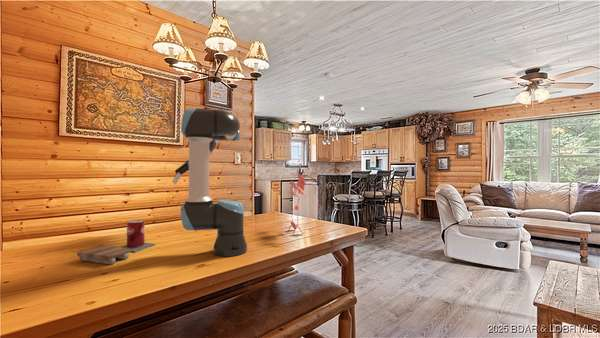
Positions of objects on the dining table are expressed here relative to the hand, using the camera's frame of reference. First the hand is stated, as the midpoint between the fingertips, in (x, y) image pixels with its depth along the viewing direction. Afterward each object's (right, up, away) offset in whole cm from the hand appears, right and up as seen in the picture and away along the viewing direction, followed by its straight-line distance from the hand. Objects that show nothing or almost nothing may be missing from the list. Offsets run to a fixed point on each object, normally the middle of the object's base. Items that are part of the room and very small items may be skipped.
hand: (184, 183), depth 146 cm
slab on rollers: (-19, -30, -34) cm, 49 cm away
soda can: (-16, -29, -17) cm, 37 cm away
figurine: (+63, -30, +16) cm, 72 cm away
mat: (-16, -30, -17) cm, 38 cm away
